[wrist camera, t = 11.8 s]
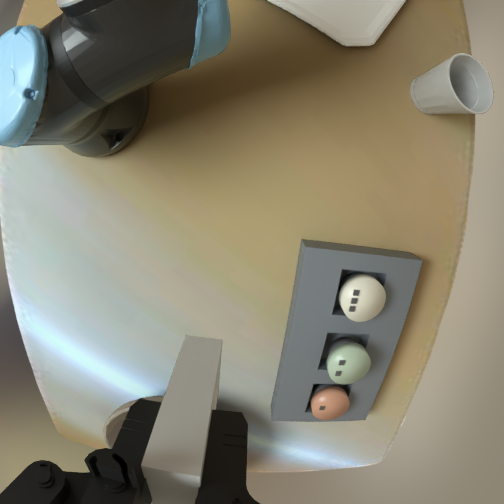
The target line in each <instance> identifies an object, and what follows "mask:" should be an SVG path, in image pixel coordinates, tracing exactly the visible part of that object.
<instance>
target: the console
mask: <svg viewBox="0 0 504 504" xmlns="http://www.w3.org/2000/svg"><path fill="white" fill-rule="evenodd" d="M421 265H422V260H421V259H419V258H418V257H417V256H415V255H414V254H412V253H410V252H402V251H394V250H387V249H379V248H371V247H363V246H355V245H346V244H338V243H330V242H321V241H313V240H304V239H301V245H300V251H299V257H298V264H297V270H296V276H295V282H294V288H293V294H292V299H291V305H290V311H289V316H288V322H287V327H286V333H285V338H284V343H283V349H282V354H281V359H280V364H279V369H278V374H277V379H276V384H275V388H274V393H273V398H272V403H271V417H272V420H273V421H306V422H323V421H355V420H365V419H366V417H367V415H368V413H369V411H370V409H371V407H372V404H373V402H374V400H375V398H376V395H377V393H378V391H379V389H380V386H381V384H382V381H383V379H384V377H385V374H386V372H387V369H388V367H389V364H390V362H391V359H392V356H393V354H394V351H395V348H396V346H397V343H398V340H399V337H400V334H401V332H402V329H403V326H404V323H405V320H406V317H407V314H408V310H409V307H410V304H411V301H412V297H413V294H414V290H415V287H416V283H417V280H418V276H419V272H420V268H421ZM352 272H361V273H364V274H368V275H371V276H373V277H374V278H376V279H377V281H378V282H379V283H380V284H381V285H382V286H383V288H384V290H385V293H386V301H385V304H384V307H383V309H382V310H381V311H380V313H379V314H378V315H377V316H375V317H374V318H372V319H370V320H368V321H364V322H356V321H353V320H351V319H349V318H348V317H347V316H346V315H345V313H344V311H343V310H342V308H341V306H340V303H339V285H340V283H341V281H342V279H343V278H344V277H345V276H346V275H348V274H350V273H352ZM340 337H351V338H353V339H354V340H355V341H356V342H357V343H358V344H360V345H362V346H363V347H364V348H365V350H366V351H367V353H368V355H369V357H370V360H371V366H370V369H369V371H368V372H367V374H366V375H365V376H364V377H363V378H361V379H360V380H358V381H356V382H354V383H351V384H339V385H340V388H342V389H344V390H345V391H346V393H347V396H348V399H349V402H350V405H349V408H348V410H347V411H346V412H345V413H344V414H343V415H342V416H340V417H338V418H335V419H332V420H321V419H318V418H316V417H315V416H314V415H313V413H312V408H311V399H312V397H313V393H312V390H313V387H314V386H315V385H316V384H338V383H336V382H334V381H333V380H332V379H331V378H330V376H329V373H328V369H327V366H326V361H327V358H328V355H327V350H328V347H329V345H330V344H331V343H332V342H333V341H334V340H336V339H338V338H340Z"/></svg>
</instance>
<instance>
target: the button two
mask: <svg viewBox="0 0 504 504" xmlns="http://www.w3.org/2000/svg"><path fill="white" fill-rule="evenodd" d="M327 355H328V358H327V361H326V366H327V369H328V373H329V376H330V378H331V379H332V380H333V381H334V382H336V383H338V384H351V383H354V382H356V381H358V380H360V379H361V378H363V377H364V376H365V375H366V374H367V372H368V371H369V369H370V366H371V360H370V357H369V355H368V353H367V351H366V350H365V348H364V347H363V346H362V345H360V344H358V343H357V342H356V341H355V340H354V339H353V338H351V337H340V338H338V339H336V340H334V341H333V342H332V343H331V344H330V345H329V347H328V350H327Z"/></svg>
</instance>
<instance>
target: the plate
mask: <svg viewBox="0 0 504 504" xmlns="http://www.w3.org/2000/svg"><path fill="white" fill-rule="evenodd" d="M266 1H268V2H270V3H272V4H274V5H276V6H278V7H280V8H282V9H284V10H285V11H287V12H289V13H291V14H293V15H294V16H296V17H298V18H300V19H301V20H303V21H305V22H307V23H308V24H310V25H312V26H313V27H315V28H316V29H318V30H320V31H321V32H323V33H324V34H326V35H327V36H329V37H330V38H332V39H334V40H335V41H337V42H338V43H339V44H341V45H343V46H346V47H348V46H371V45H374V43H375V42H376V41H377V39H378V38H379V37H380V35H381V34H382V32H383V31H384V30H385V28H386V27H387V26H388V24H389V23H390V22H391V20H392V19H393V18H394V16H395V15H396V13H397V12H398V11H399V9H400V8H401V7H402V5H403V4H404V3H405V1H406V0H266Z"/></svg>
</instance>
